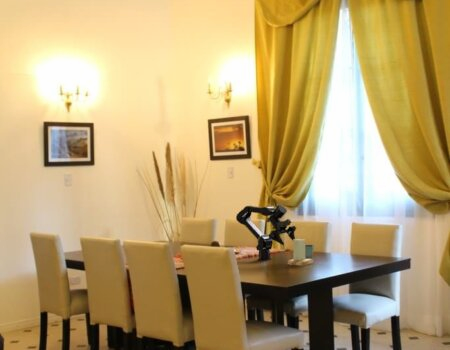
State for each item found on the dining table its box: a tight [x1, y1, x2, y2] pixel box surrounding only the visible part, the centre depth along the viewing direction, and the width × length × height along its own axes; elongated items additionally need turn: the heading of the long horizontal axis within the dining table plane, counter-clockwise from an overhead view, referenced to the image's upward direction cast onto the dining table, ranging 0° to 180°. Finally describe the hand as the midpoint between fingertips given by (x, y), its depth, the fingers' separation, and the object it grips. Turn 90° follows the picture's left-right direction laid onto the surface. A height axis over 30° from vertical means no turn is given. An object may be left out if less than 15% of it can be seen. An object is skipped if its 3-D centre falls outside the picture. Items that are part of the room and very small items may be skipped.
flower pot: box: [305, 244, 315, 259], centre depth 389 cm, size 9×9×9 cm
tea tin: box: [292, 238, 306, 260], centre depth 375 cm, size 5×5×12 cm
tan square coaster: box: [287, 258, 314, 267], centre depth 375 cm, size 11×11×3 cm
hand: (289, 243), depth 382 cm, fingers open, 9 cm apart
